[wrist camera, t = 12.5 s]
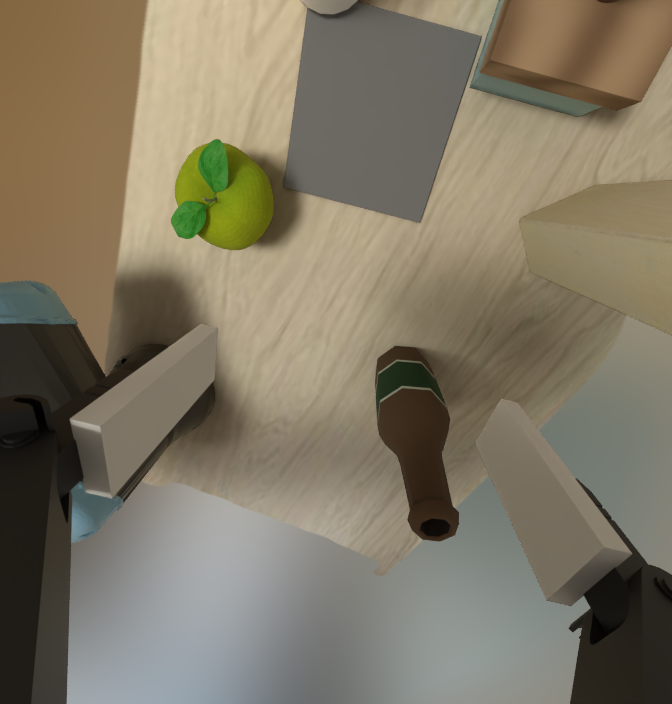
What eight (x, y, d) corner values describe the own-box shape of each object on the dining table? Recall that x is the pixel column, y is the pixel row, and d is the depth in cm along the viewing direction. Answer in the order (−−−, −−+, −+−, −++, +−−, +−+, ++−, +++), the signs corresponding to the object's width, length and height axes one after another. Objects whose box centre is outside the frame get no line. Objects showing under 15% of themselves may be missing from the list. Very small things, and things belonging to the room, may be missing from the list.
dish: (469, 87, 29) (488, 66, 25) (527, -85, 24) (563, -150, 20) (577, 116, 29) (615, 101, 25) (656, -48, 25) (721, -104, 20)
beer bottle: (421, 336, 41) (483, 483, 19) (434, 383, 44) (499, 555, 22) (366, 352, 43) (367, 502, 21) (382, 396, 46) (396, 567, 24)
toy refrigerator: (529, 279, 36) (702, 360, 18) (516, 219, 34) (703, 239, 15) (603, 250, 34) (889, 306, 16) (596, 184, 32) (929, 155, 13)
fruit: (192, 206, 36) (135, 207, 27) (232, 133, 33) (182, 107, 24) (255, 258, 38) (221, 275, 29) (299, 195, 35) (276, 193, 26)
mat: (284, 187, 34) (283, 187, 34) (310, -9, 27) (309, -12, 27) (419, 222, 35) (419, 222, 35) (480, 37, 28) (481, 36, 27)
